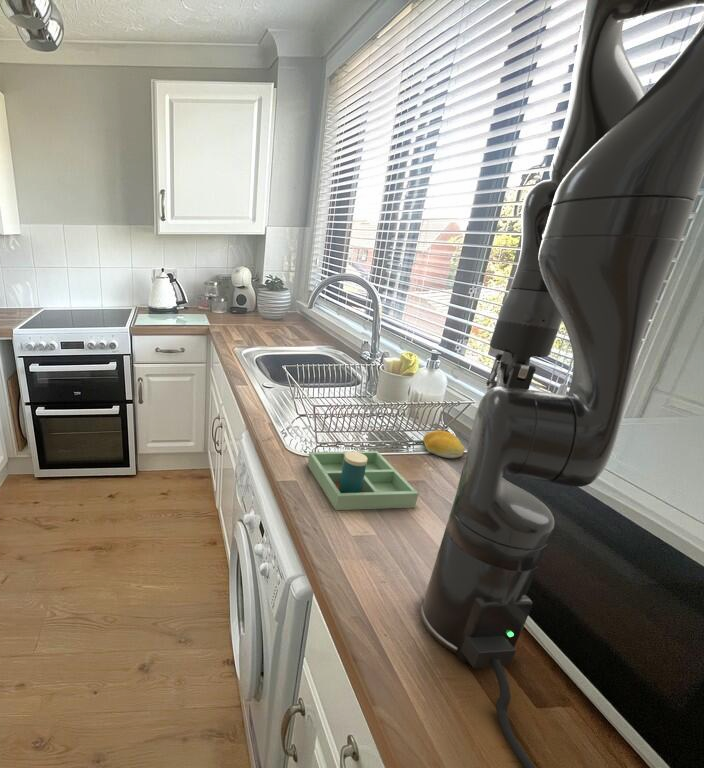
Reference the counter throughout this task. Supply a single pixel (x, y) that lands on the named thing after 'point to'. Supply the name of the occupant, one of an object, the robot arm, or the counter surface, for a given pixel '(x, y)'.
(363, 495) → the grid
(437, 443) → the bread roll
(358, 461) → the teal cream-capped cylinder
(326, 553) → the counter surface
